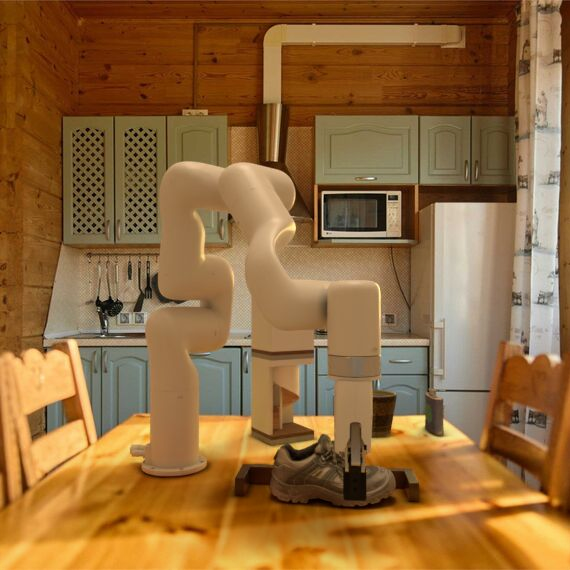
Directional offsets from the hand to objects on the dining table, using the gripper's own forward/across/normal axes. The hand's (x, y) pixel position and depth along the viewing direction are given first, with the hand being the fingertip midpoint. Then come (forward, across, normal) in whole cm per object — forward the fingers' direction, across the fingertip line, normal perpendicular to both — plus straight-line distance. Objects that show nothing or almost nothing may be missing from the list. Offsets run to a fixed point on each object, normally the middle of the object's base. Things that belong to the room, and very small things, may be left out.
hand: (354, 498), depth 76 cm
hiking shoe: (+5, -14, -3) cm, 15 cm away
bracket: (+5, -18, -4) cm, 19 cm away
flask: (+5, -62, +22) cm, 66 cm away
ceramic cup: (+5, -57, +6) cm, 58 cm away
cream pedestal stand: (+5, -53, -16) cm, 56 cm away
